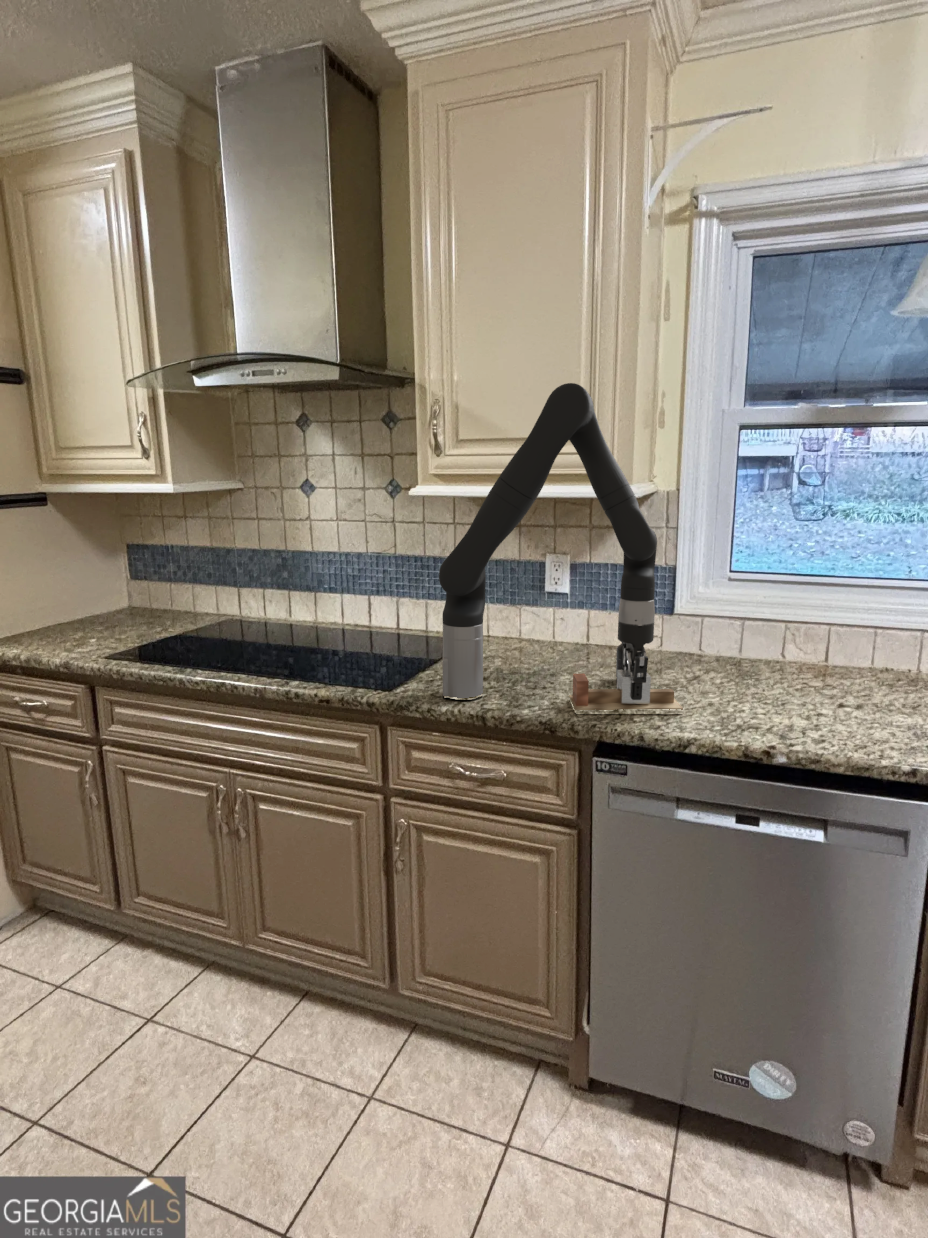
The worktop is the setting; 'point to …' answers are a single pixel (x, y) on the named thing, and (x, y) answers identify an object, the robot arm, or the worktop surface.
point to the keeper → (625, 688)
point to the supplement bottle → (620, 658)
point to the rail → (627, 706)
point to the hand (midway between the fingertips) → (632, 694)
